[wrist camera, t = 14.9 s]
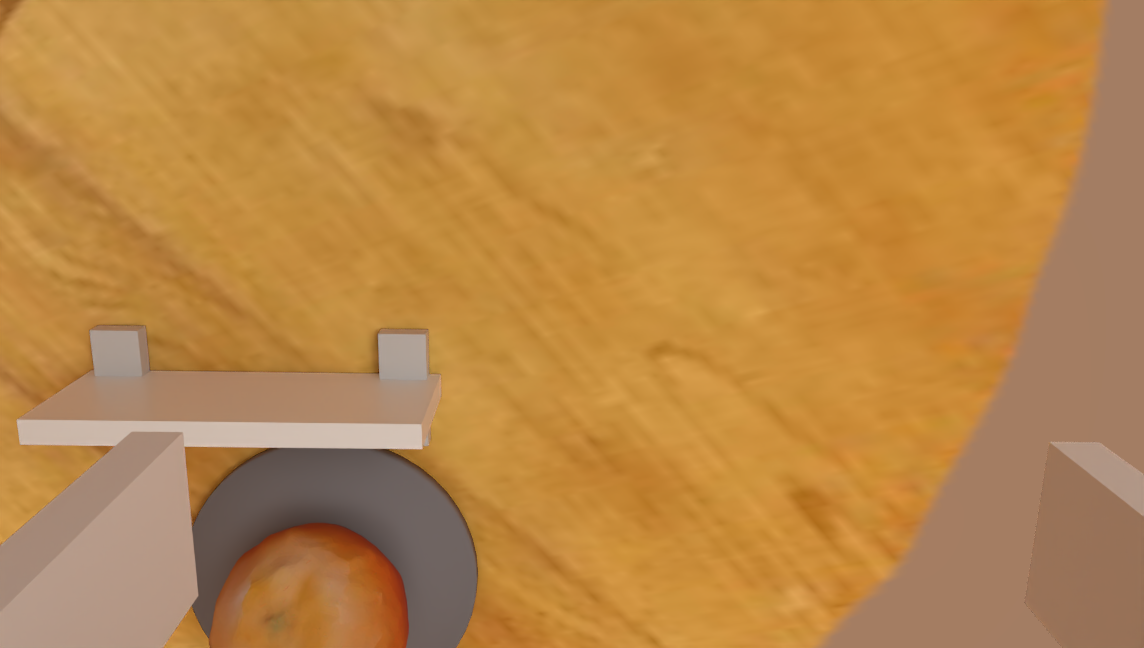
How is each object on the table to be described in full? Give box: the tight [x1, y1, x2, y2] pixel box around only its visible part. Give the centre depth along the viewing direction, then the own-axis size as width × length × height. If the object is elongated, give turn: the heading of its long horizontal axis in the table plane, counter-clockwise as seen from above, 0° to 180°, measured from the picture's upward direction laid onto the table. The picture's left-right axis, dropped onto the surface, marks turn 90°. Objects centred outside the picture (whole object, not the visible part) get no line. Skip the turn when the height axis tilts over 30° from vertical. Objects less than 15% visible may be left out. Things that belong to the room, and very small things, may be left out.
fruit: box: [209, 523, 409, 648], centre depth 41 cm, size 8×8×8 cm
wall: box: [17, 325, 441, 449], centre depth 39 cm, size 5×15×6 cm, turn 89°
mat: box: [192, 448, 478, 648], centre depth 44 cm, size 13×13×1 cm
